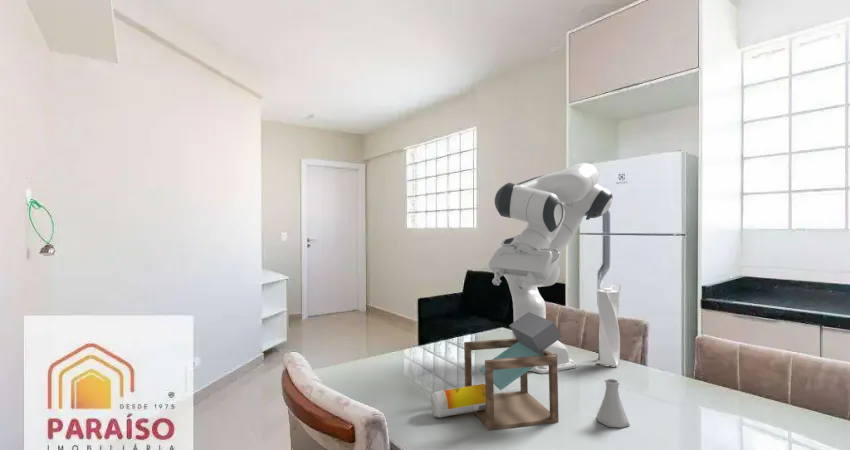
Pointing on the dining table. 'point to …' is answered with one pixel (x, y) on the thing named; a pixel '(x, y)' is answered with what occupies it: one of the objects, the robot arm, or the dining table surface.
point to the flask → (612, 407)
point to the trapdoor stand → (513, 405)
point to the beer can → (458, 400)
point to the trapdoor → (525, 346)
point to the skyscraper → (608, 326)
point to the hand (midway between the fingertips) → (507, 285)
